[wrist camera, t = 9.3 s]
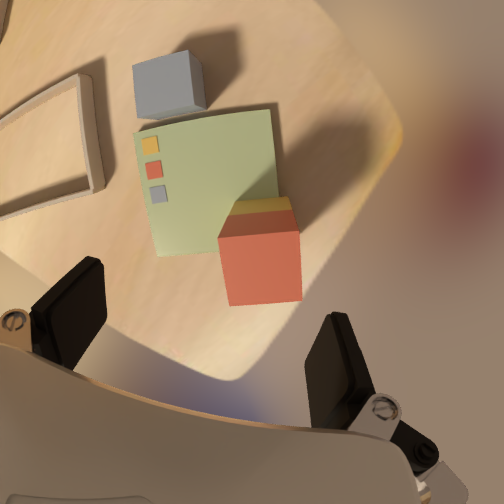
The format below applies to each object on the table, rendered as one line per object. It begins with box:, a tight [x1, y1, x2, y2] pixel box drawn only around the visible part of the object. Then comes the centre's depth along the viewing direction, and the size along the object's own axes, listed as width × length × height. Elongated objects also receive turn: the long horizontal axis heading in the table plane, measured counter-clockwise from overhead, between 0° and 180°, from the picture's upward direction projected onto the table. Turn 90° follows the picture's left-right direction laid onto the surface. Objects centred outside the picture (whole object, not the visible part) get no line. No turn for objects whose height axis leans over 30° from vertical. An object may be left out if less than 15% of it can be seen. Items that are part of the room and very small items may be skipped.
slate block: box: [132, 50, 207, 120], centre depth 25 cm, size 6×6×6 cm
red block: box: [217, 210, 302, 306], centre depth 24 cm, size 6×6×6 cm
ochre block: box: [228, 196, 293, 216], centre depth 30 cm, size 6×6×6 cm
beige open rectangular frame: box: [0, 73, 106, 221], centre depth 30 cm, size 16×32×3 cm, turn 97°
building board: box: [133, 109, 279, 257], centre depth 32 cm, size 16×16×1 cm
